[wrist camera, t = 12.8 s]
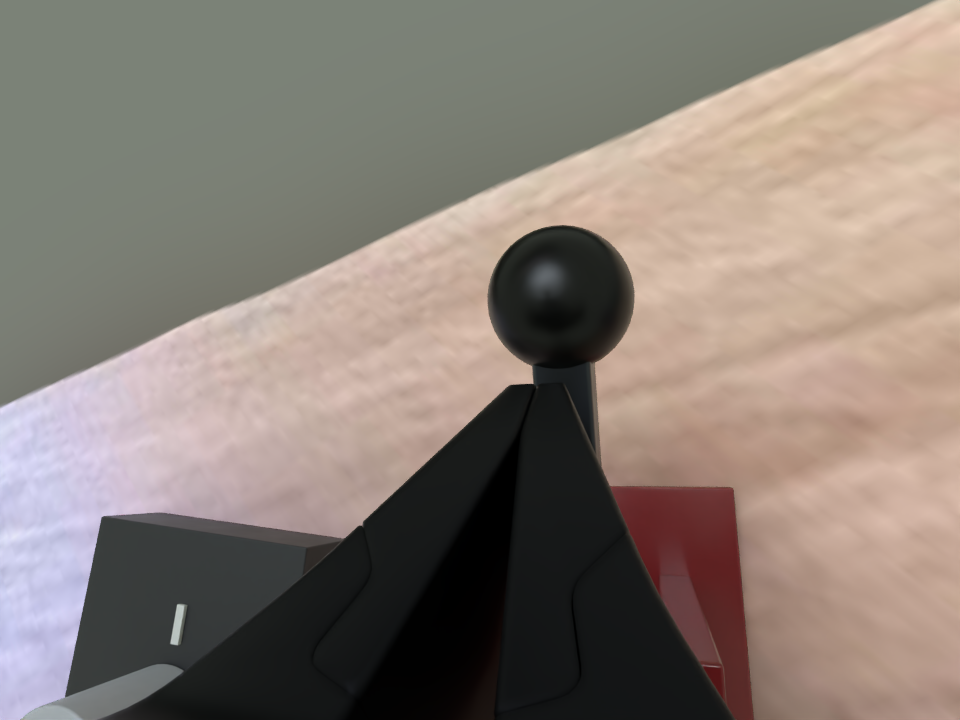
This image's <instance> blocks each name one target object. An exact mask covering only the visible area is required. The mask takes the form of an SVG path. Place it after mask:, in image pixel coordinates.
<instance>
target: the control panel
mask: <svg viewBox="0 0 960 720" xmlns="http://www.w3.org/2000/svg"><path fill="white" fill-rule="evenodd" d="M343 540H344V539H342V538H335V537H328V536H321V535H314V534H307V533H300V532H293V531H286V530H279V529H272V528H265V527H258V526H251V525H244V524H237V523H230V522H223V521H216V520H209V519H202V518H195V517H188V516H181V515H174V514H167V513H147V514H132V515H117V516H104V517H102V519H101V524H100V529H99V534H98V538H97V543H96V548H95V553H94V558H93V563H92V568H91V573H90V577H89V582H88V587H87V592H86V597H85V602H84V607H83V612H82V617H81V621H80V626H79V631H78V636H77V641H76V646H75V651H74V656H73V660H72V665H71V670H70V675H69V680H68V685H67V690H66V695H65V697H68V696H70V695H73V694H76V693H79V692H81V691H84V690H87V689H89V688H92V687H95V686H98V685H100V684H103V683H106V682H108V681H111V680H114V679H117V678H119V677H122V676H125V675H127V674H130V673H133V672H135V671H138V670H141V669H144V668H146V667H149V666H152V665H156V664H168V665H173V666H176V667H178V668H180V669H182V670H184V671H185V670H186V669H187V668H188V667H190V666H191V665H192V664H193V663H195V662H196V661H197V660H199V659H200V658H201V657H202V656H204V655H205V654H206V653H207V652H209V651H210V650H211V649H212V648H214V647H215V646H216V645H217V644H219V643H220V642H221V641H223V640H224V639H225V638H226V637H228V636H229V635H230V634H231V633H233V632H234V631H235V630H236V629H238V628H239V627H240V626H241V625H243V624H244V623H245V622H247V621H248V620H249V619H250V618H252V617H253V616H254V615H255V614H257V613H258V612H259V611H260V610H262V609H263V608H264V607H265V606H267V605H268V604H269V603H270V602H272V601H273V600H274V599H275V598H277V597H278V596H279V595H280V594H281V593H283V592H284V591H285V590H286V589H288V588H289V587H290V586H291V585H292V584H294V583H295V582H296V581H297V580H298V579H300V578H301V577H302V576H303V575H305V574H306V573H307V572H308V571H309V570H310V569H312V568H313V567H314V566H315V565H316V564H317V563H318V562H319V561H321V560H322V559H323V558H324V557H325V556H326V555H327V554H328V553H329V552H331V551H332V550H333V549H334V548H335V547H336V546H337V545H338V544H340V543H341V542H342V541H343Z"/></svg>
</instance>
